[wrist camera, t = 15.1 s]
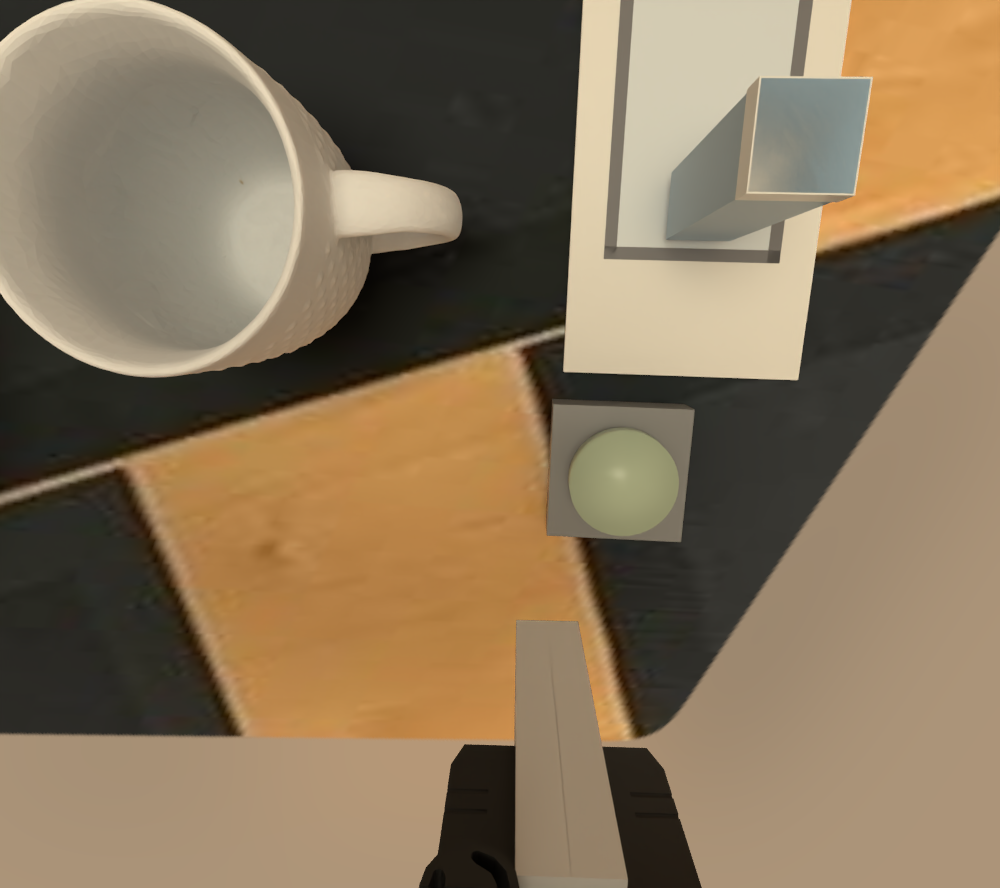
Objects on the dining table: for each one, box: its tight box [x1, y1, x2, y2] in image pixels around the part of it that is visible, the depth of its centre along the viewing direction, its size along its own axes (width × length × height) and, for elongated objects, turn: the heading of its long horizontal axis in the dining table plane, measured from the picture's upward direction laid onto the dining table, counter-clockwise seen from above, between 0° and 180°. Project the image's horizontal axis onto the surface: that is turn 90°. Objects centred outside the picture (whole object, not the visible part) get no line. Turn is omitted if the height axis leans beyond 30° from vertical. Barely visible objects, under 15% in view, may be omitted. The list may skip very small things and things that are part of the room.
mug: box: [0, 0, 462, 377], centre depth 24 cm, size 15×11×13 cm
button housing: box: [546, 399, 695, 542], centre depth 31 cm, size 7×7×2 cm
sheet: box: [563, 0, 852, 380], centre depth 28 cm, size 12×24×1 cm, turn 178°
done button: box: [568, 427, 679, 536], centre depth 30 cm, size 5×5×4 cm
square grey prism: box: [666, 76, 873, 241], centre depth 22 cm, size 3×3×12 cm
